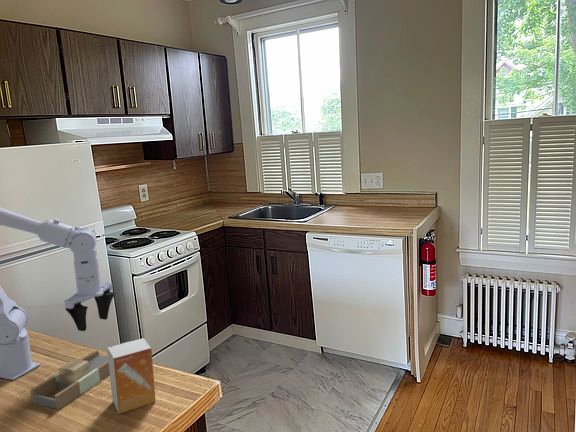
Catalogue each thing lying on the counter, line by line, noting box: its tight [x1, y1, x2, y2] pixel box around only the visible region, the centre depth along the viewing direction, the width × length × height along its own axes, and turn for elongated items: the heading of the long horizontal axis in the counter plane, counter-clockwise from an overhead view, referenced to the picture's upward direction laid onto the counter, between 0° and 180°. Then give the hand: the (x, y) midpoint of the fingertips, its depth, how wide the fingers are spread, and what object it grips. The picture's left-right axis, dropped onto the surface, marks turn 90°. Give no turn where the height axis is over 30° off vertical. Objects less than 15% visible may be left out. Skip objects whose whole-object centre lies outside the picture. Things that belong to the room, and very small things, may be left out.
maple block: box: [58, 358, 90, 384], centre depth 105 cm, size 4×4×4 cm
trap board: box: [29, 350, 110, 410], centre depth 106 cm, size 8×20×3 cm, turn 159°
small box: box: [106, 337, 156, 415], centre depth 97 cm, size 8×6×13 cm
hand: (93, 324), depth 118 cm, fingers open, 7 cm apart
